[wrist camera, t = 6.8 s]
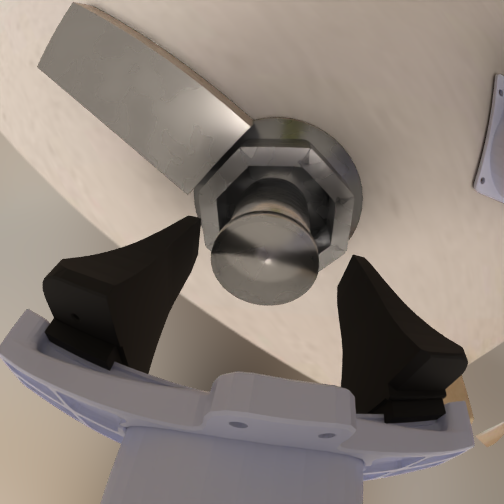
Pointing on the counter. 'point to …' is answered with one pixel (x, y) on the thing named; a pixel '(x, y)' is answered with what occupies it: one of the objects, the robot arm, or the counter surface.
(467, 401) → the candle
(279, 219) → the metal knob
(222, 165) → the grey piece
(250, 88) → the counter surface
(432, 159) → the counter surface
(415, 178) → the counter surface
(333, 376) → the counter surface
